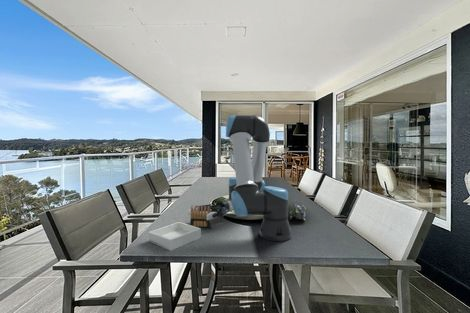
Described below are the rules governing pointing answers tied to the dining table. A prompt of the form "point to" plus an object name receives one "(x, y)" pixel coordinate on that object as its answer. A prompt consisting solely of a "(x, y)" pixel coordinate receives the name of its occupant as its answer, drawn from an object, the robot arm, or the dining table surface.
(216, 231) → the dining table surface
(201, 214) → the ammunition clip
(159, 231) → the tray
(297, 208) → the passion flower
